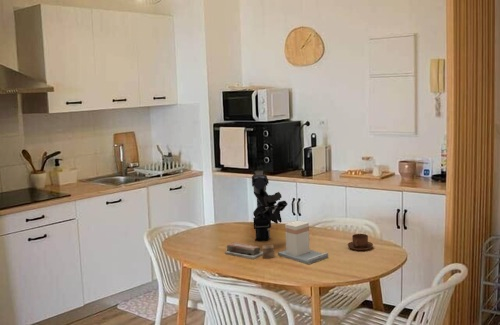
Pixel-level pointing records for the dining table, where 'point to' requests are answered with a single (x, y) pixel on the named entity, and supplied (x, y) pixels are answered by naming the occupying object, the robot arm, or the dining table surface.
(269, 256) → the walnut block
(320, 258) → the podium
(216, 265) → the dining table surface
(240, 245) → the packaged product
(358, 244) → the cup and saucer
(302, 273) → the dining table surface
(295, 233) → the carton
